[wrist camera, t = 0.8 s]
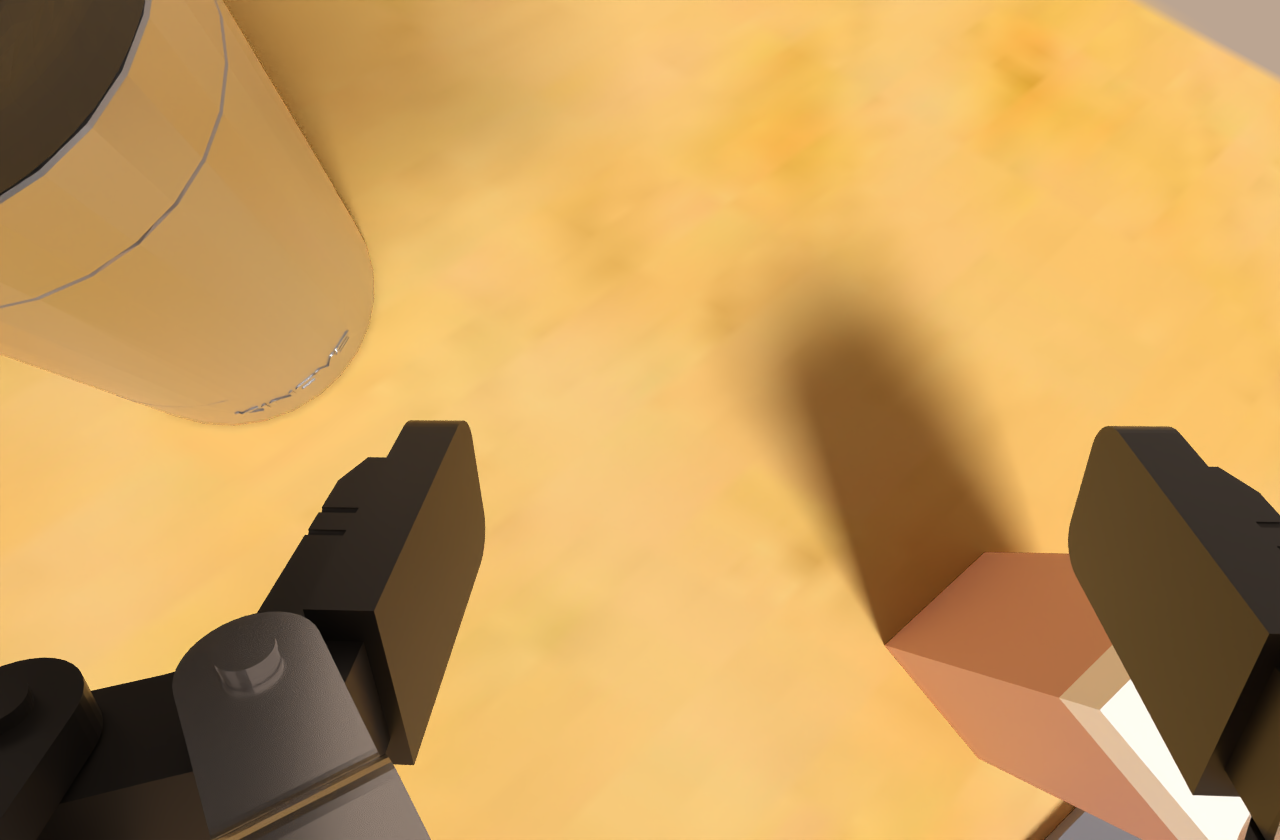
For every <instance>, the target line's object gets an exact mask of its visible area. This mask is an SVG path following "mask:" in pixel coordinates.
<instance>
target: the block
mask: <svg viewBox="0 0 1280 840" xmlns="http://www.w3.org/2000/svg"><path fill="white" fill-rule="evenodd" d="M885 646H886V648H887V649H888V650H889V651H890V653H891V654H892V655H893V656H894V657H895V659H896V660H897V661H898V662H899V663H900V665H901V666H902V667H903V668H904V669H905V671H906V672H907V673H908V674H909V675H910V677H911V678H912V679H913V680H914V681H915V683H916V684H917V685H918V686H919V687H920V689H921V690H922V691H923V692H924V693H925V695H926V696H927V697H928V698H929V699H930V701H931V702H932V703H933V704H934V706H935V707H936V708H937V709H938V710H939V712H940V713H941V714H942V715H943V716H944V718H945V719H946V720H947V721H948V722H949V724H950V725H951V726H952V727H953V728H954V730H955V731H956V732H957V733H958V734H959V736H960V737H961V738H962V739H963V740H964V742H965V743H966V744H967V745H968V746H969V748H970V749H971V750H972V751H973V752H974V754H975V755H976V756H977V757H978V758H979V759H981V760H983V761H985V762H987V763H989V764H991V765H993V766H995V767H997V768H999V769H1001V770H1003V771H1005V772H1007V773H1009V774H1011V775H1013V776H1015V777H1017V778H1019V779H1021V780H1023V781H1025V782H1027V783H1029V784H1031V785H1033V786H1035V787H1037V788H1039V789H1041V790H1043V791H1045V792H1047V793H1049V794H1051V795H1053V796H1055V797H1057V798H1059V799H1061V800H1063V801H1065V802H1067V803H1069V804H1071V805H1073V806H1075V807H1077V808H1079V809H1081V810H1083V811H1085V812H1087V813H1089V814H1091V815H1093V816H1095V817H1097V818H1099V819H1101V820H1103V821H1105V822H1107V823H1109V824H1111V825H1113V826H1115V827H1117V828H1119V829H1122V830H1124V831H1126V832H1128V833H1130V834H1132V835H1134V836H1136V837H1138V838H1140V839H1142V840H1237V839H1238V836H1239V833H1240V831H1241V829H1242V827H1243V825H1244V823H1245V822H1246V820H1247V818H1248V816H1249V814H1250V813H1249V811H1248V809H1247V807H1246V806H1245V804H1244V802H1243V801H1242V799H1241V797H1229V796H1200V795H1192V793H1191V791H1190V790H1189V788H1188V786H1187V784H1186V782H1185V780H1184V778H1183V776H1182V775H1181V773H1180V771H1179V769H1178V767H1177V765H1176V763H1175V761H1174V760H1173V758H1172V756H1171V754H1170V752H1169V750H1168V748H1167V746H1166V744H1165V743H1164V741H1163V739H1162V737H1161V735H1160V733H1159V731H1158V729H1157V728H1156V726H1155V724H1154V722H1153V720H1152V718H1151V716H1150V714H1149V713H1148V711H1147V709H1146V707H1145V705H1144V703H1143V701H1142V699H1141V698H1140V696H1139V694H1138V692H1137V690H1136V688H1135V686H1134V684H1133V683H1132V681H1131V679H1130V677H1129V675H1128V673H1127V671H1126V669H1125V668H1124V666H1123V664H1122V662H1121V660H1120V658H1119V656H1118V654H1117V653H1116V651H1115V649H1114V647H1113V645H1112V643H1111V641H1110V639H1109V637H1108V636H1107V634H1106V632H1105V630H1104V628H1103V626H1102V624H1101V622H1100V621H1099V619H1098V617H1097V615H1096V613H1095V611H1094V609H1093V607H1092V606H1091V604H1090V602H1089V600H1088V598H1087V596H1086V594H1085V592H1084V591H1083V589H1082V587H1081V585H1080V583H1079V581H1078V579H1077V577H1076V575H1075V573H1074V571H1073V568H1072V565H1071V561H1070V556H1069V554H1058V553H1005V552H984V553H983V554H982V555H981V556H980V557H979V558H978V559H977V560H976V561H975V562H974V563H973V564H971V565H970V566H969V567H968V568H967V569H966V570H965V571H964V572H963V573H962V574H961V575H960V576H959V577H957V578H956V579H955V580H954V581H953V582H952V583H951V584H950V585H949V586H948V587H947V588H946V589H945V590H943V591H942V592H941V593H940V594H939V595H938V596H937V597H936V598H935V599H934V600H933V601H932V602H931V603H930V604H928V605H927V606H926V607H925V608H924V609H923V610H922V611H921V612H920V613H919V614H918V615H917V616H916V617H914V618H913V619H912V620H911V621H910V622H909V623H908V624H907V625H906V626H905V627H904V628H903V629H902V630H900V631H899V632H898V633H897V634H896V635H895V636H894V637H893V638H892V639H891V640H890V641H889V642H888V643H887V644H885Z"/></svg>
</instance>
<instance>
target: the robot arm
mask: <svg viewBox="0 0 1280 840" xmlns="http://www.w3.org/2000/svg"><path fill="white" fill-rule="evenodd" d="M373 302H374V281H373V269H372V265H371V261H370V257H369V254H368V250H367V246H366V244H365V242H364V240H363V238H362V236H361V234H360V232H359V230H358V228H357V226H356V224H355V223H354V221H353V219H352V217H351V216H350V214H349V212H348V211H347V209H346V207H345V206H344V204H343V202H342V201H341V199H340V197H339V196H338V194H337V192H336V190H335V188H334V186H333V185H332V183H331V181H330V179H329V178H328V176H327V174H326V173H325V171H324V169H323V168H322V166H321V164H320V163H319V161H318V159H317V157H316V156H315V154H314V152H313V151H312V149H311V147H310V146H309V144H308V142H307V141H306V139H305V137H304V136H303V134H302V132H301V131H300V129H299V127H298V126H297V124H296V122H295V121H294V119H293V117H292V116H291V114H290V112H289V111H288V109H287V107H286V106H285V104H284V102H283V101H282V99H281V97H280V96H279V94H278V92H277V90H276V89H275V87H274V85H273V84H272V82H271V80H270V79H269V77H268V75H267V74H266V72H265V70H264V69H263V67H262V65H261V64H260V62H259V60H258V59H257V57H256V55H255V54H254V52H253V50H252V49H251V47H250V45H249V44H248V42H247V40H246V39H245V37H244V35H243V34H242V32H241V30H240V29H239V27H238V25H237V23H236V22H235V20H234V18H233V17H232V15H231V13H230V12H229V10H228V8H227V7H226V5H225V3H224V2H223V0H0V354H1V355H3V356H6V357H9V358H12V359H15V360H18V361H20V362H23V363H26V364H29V365H32V366H35V367H38V368H40V369H43V370H46V371H49V372H52V373H55V374H58V375H60V376H63V377H66V378H69V379H72V380H75V381H77V382H80V383H83V384H86V385H89V386H92V387H95V388H97V389H100V390H103V391H106V392H109V393H112V394H114V395H117V396H119V397H122V398H125V399H128V400H131V401H134V402H136V403H139V404H142V405H145V406H148V407H151V408H154V409H157V410H160V411H162V412H165V413H168V414H171V415H174V416H178V417H181V418H185V419H189V420H193V421H196V422H200V423H204V424H222V425H239V424H246V423H253V422H260V421H266V420H268V419H271V418H274V417H277V416H280V415H282V414H285V413H288V412H291V411H294V410H295V409H297V408H299V407H300V406H302V405H304V404H305V403H307V402H309V401H310V400H312V399H314V398H315V397H317V396H319V395H320V394H321V393H322V392H323V391H324V390H325V389H326V388H328V387H329V386H330V385H331V384H332V383H333V382H334V381H335V380H336V379H337V378H338V377H339V376H341V374H342V373H343V372H344V370H345V369H346V367H347V366H348V365H349V363H350V362H351V360H352V359H353V358H354V356H355V355H356V353H357V352H358V350H359V348H360V345H361V343H362V341H363V338H364V336H365V334H366V331H367V329H368V327H369V323H370V317H371V312H372V307H373ZM308 530H309V533H308V535H305V536H304V537H303V539H302V541H301V542H300V544H299V545H298V547H297V549H296V550H295V552H294V554H293V555H292V557H291V558H290V560H289V562H288V563H287V565H286V567H285V568H284V570H283V572H282V573H281V575H280V576H279V578H278V580H277V581H276V583H275V585H274V586H273V588H272V589H271V591H270V593H269V594H268V596H267V598H266V599H265V601H264V603H263V604H262V606H261V607H260V609H259V611H258V612H257V613H256V614H252V615H248V616H244V617H241V618H239V619H236V620H233V621H231V622H229V623H226V624H224V625H222V626H220V627H218V628H217V629H215V630H213V631H212V632H210V633H209V634H207V635H206V636H204V637H203V638H202V639H200V640H199V641H198V642H197V643H196V644H195V645H194V646H193V647H191V648H190V650H189V651H188V652H187V653H186V654H185V655H184V657H183V658H182V660H181V661H180V663H179V665H178V666H177V668H176V671H175V672H172V673H169V674H165V675H161V676H157V677H152V678H147V679H143V680H138V681H134V682H129V683H125V684H120V685H116V686H111V687H107V688H102V689H98V690H93V691H90V689H89V687H88V685H87V683H86V681H85V679H84V677H83V676H82V674H81V672H80V670H79V669H78V668H77V667H76V666H74V665H73V664H72V663H69V662H67V661H65V660H61V659H56V658H34V659H27V660H22V661H17V662H14V663H11V664H7V665H4V666H1V667H0V840H431V839H430V837H429V835H428V833H427V831H426V829H425V827H424V825H423V823H422V821H421V819H420V817H419V815H418V813H417V811H416V809H415V807H414V805H413V803H412V801H411V799H410V797H409V795H408V793H407V791H406V789H405V787H404V785H403V783H402V781H401V779H400V776H399V775H398V773H397V771H396V769H395V767H394V765H393V764H401V765H414V764H415V761H416V758H417V754H418V751H419V748H420V745H421V742H422V739H423V736H424V733H425V730H426V727H427V724H428V721H429V718H430V715H431V712H432V709H433V706H434V703H435V700H436V697H437V694H438V691H439V688H440V685H441V682H442V679H443V676H444V673H445V670H446V667H447V664H448V661H449V658H450V655H451V652H452V648H453V645H454V642H455V639H456V636H457V633H458V630H459V627H460V624H461V621H462V618H463V615H464V612H465V609H466V606H467V603H468V600H469V597H470V594H471V591H472V588H473V585H474V582H475V579H476V576H477V573H478V570H479V567H480V564H481V560H482V556H483V550H484V542H485V517H484V510H483V503H482V497H481V491H480V484H479V478H478V472H477V465H476V459H475V453H474V446H473V440H472V435H471V431H470V428H469V425H468V424H467V422H465V421H413V420H410V421H408V422H407V423H406V424H405V425H404V427H403V429H402V431H401V432H400V434H399V436H398V438H397V440H396V441H395V443H394V445H393V447H392V449H391V450H390V452H389V454H388V456H387V458H378V457H368V458H367V459H365V460H364V461H363V462H362V463H360V464H359V465H358V466H356V467H355V468H354V469H352V470H351V471H350V472H349V473H347V474H346V475H345V476H343V477H342V478H341V479H340V480H338V482H337V483H336V485H335V487H334V488H333V490H332V492H331V493H330V495H329V497H328V498H327V500H326V501H325V503H324V505H323V506H322V513H321V512H319V513H318V514H317V516H316V518H315V519H314V521H313V523H312V524H311V526H310V528H309V529H308ZM1068 547H1069V556H1070V561H1071V565H1072V568H1073V571H1074V573H1075V575H1076V577H1077V579H1078V581H1079V583H1080V585H1081V587H1082V589H1083V591H1084V592H1085V594H1086V596H1087V598H1088V600H1089V602H1090V604H1091V606H1092V607H1093V609H1094V611H1095V613H1096V615H1097V617H1098V619H1099V621H1100V622H1101V624H1102V626H1103V628H1104V630H1105V632H1106V634H1107V636H1108V637H1109V639H1110V641H1111V643H1112V645H1113V647H1114V649H1115V651H1116V653H1117V654H1118V656H1119V658H1120V660H1121V662H1122V664H1123V666H1124V668H1125V669H1126V671H1127V673H1128V675H1129V677H1130V679H1131V681H1132V683H1133V684H1134V686H1135V688H1136V690H1137V692H1138V694H1139V696H1140V698H1141V699H1142V701H1143V703H1144V705H1145V707H1146V709H1147V711H1148V713H1149V714H1150V716H1151V718H1152V720H1153V722H1154V724H1155V726H1156V728H1157V729H1158V731H1159V733H1160V735H1161V737H1162V739H1163V741H1164V743H1165V744H1166V746H1167V748H1168V750H1169V752H1170V754H1171V756H1172V758H1173V760H1174V761H1175V763H1176V765H1177V767H1178V769H1179V771H1180V773H1181V775H1182V776H1183V778H1184V780H1185V782H1186V784H1187V786H1188V788H1189V790H1190V791H1191V793H1192V795H1200V796H1229V797H1241V799H1242V801H1243V802H1244V804H1245V806H1246V807H1247V809H1248V811H1249V813H1250V814H1249V816H1248V818H1247V820H1246V822H1245V823H1244V825H1243V827H1242V829H1241V831H1240V833H1239V836H1238V839H1237V840H1280V515H1279V514H1278V513H1277V512H1276V511H1275V510H1274V508H1273V507H1272V506H1271V505H1270V504H1269V503H1268V502H1267V501H1266V500H1265V499H1264V497H1263V496H1262V495H1261V494H1260V493H1259V492H1257V491H1256V490H1254V489H1253V488H1251V487H1249V486H1248V485H1246V484H1245V483H1243V482H1241V481H1240V480H1238V479H1237V478H1235V477H1233V476H1232V475H1230V474H1229V473H1227V472H1225V471H1224V470H1222V469H1221V468H1219V467H1208V466H1207V464H1206V463H1205V462H1204V461H1203V460H1202V459H1201V458H1200V456H1199V455H1198V454H1197V453H1196V452H1195V451H1194V449H1193V448H1192V447H1191V446H1190V445H1189V444H1188V442H1187V441H1186V440H1185V439H1184V438H1183V437H1182V435H1181V434H1180V433H1179V432H1178V431H1177V430H1176V429H1174V428H1172V427H1145V426H1107V427H1104V428H1102V429H1101V430H1100V431H1099V432H1098V434H1097V435H1096V437H1095V439H1094V442H1093V445H1092V449H1091V452H1090V456H1089V459H1088V463H1087V466H1086V470H1085V473H1084V477H1083V480H1082V484H1081V487H1080V491H1079V494H1078V498H1077V501H1076V505H1075V508H1074V512H1073V515H1072V519H1071V523H1070V527H1069V536H1068Z"/></svg>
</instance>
